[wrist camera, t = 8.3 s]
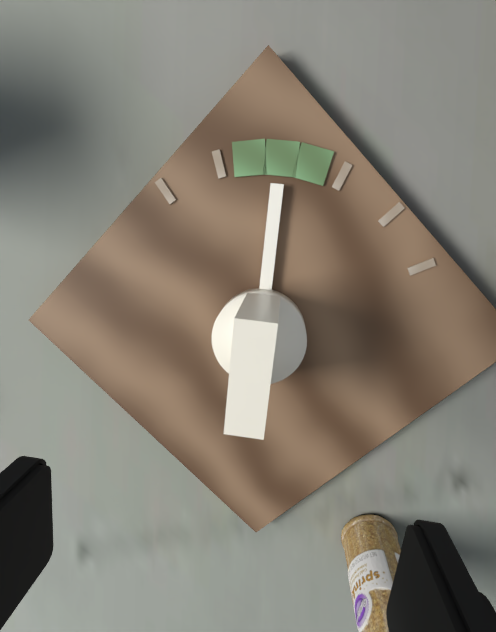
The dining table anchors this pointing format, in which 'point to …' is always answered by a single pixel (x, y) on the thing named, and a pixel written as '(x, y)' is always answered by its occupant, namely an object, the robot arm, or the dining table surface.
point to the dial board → (289, 279)
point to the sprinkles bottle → (370, 568)
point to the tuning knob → (258, 339)
